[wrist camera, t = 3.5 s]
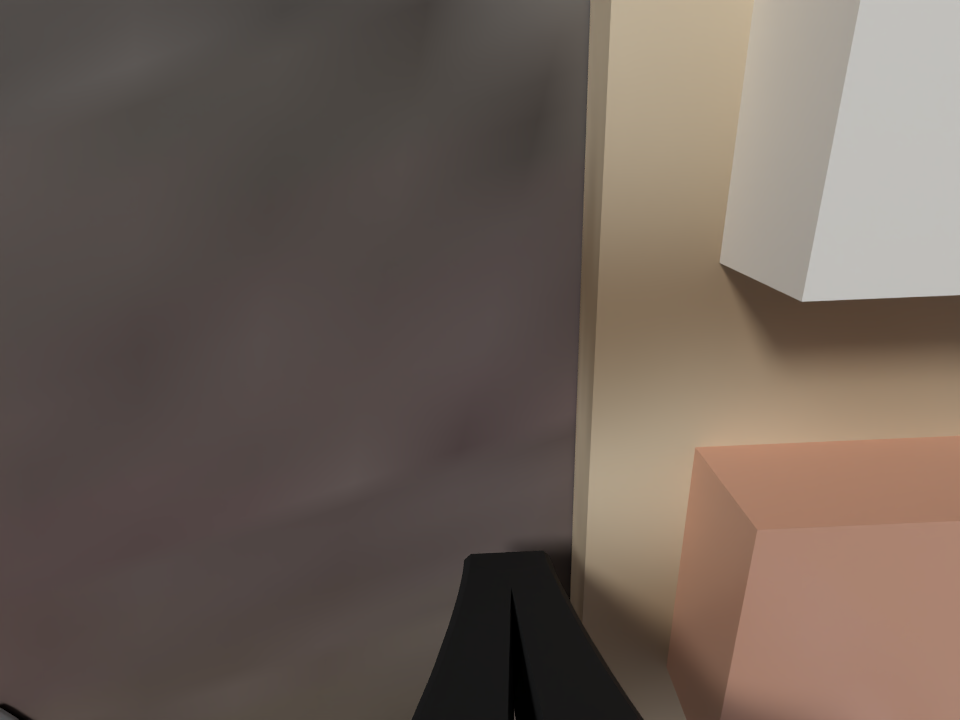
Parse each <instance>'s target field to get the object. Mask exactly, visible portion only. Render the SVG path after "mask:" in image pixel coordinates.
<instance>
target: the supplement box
mask: <svg viewBox="0 0 960 720" xmlns="http://www.w3.org/2000/svg"><path fill="white" fill-rule="evenodd" d="M0 720H19V719H17V718H16V717H14V716H13V715H11V714H10V713H8V712H7V711H5V710H3V709H2V708H0Z"/></svg>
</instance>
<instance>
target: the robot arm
mask: <svg viewBox="0 0 960 720" xmlns="http://www.w3.org/2000/svg"><path fill="white" fill-rule="evenodd" d="M514 711H515V717H516V720H644V719H643V718H642V716H641V715H640V713H639V712H638V710H637V709H636V707H635V706H634V705H633V703H632V702H631V700H630V699H629V697H628V696H627V694H626V693H625V691H624V690H623V688H622V687H621V685H620V684H619V682H618V681H617V679H616V678H615V676H614V675H613V673H612V672H611V670H610V668H609V667H608V665H607V663H606V662H605V660H604V659H603V657H602V655H601V654H600V652H599V650H598V649H597V647H596V646H595V644H594V642H593V641H592V639H591V637H590V636H589V634H588V632H587V631H586V629H585V627H584V625H583V624H582V622H581V620H580V618H579V617H578V615H577V613H576V611H575V609H574V607H573V605H572V604H571V602H570V600H569V598H568V596H567V594H566V592H565V590H564V588H563V586H562V584H561V582H560V580H559V578H558V576H557V573H556V571H555V569H554V567H553V564H552V562H551V559H550V556H549V555H547V554H546V553H545V552H544V551H528V552H506V553H485V554H470V555H469V556H468V557H467V558H466V559H465V560H464V568H463V574H462V579H461V584H460V588H459V592H458V596H457V600H456V603H455V607H454V610H453V613H452V617H451V620H450V623H449V626H448V629H447V632H446V635H445V637H444V640H443V643H442V646H441V649H440V651H439V654H438V657H437V660H436V663H435V665H434V668H433V670H432V673H431V676H430V678H429V681H428V683H427V685H426V688H425V690H424V692H423V695H422V697H421V699H420V702H419V704H418V706H417V709H416V711H415V713H414V716H413V718H412V720H514Z"/></svg>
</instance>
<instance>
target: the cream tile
mask: <svg viewBox="0 0 960 720" xmlns="http://www.w3.org/2000/svg"><path fill="white" fill-rule="evenodd" d="M720 263H721V264H723V265H725V266H727V267H729V268H732V269H734V270H736V271H738V272H740V273H742V274H744V275H746V276H748V277H751V278H753V279H755V280H757V281H759V282H761V283H763V284H765V285H767V286H770V287H772V288H774V289H776V290H778V291H780V292H782V293H784V294H786V295H789V296H791V297H793V298H795V299H797V300H799V301H801V302H807V301H831V300H854V299H878V298H902V297H926V296H949V295H960V0H754V4H753V12H752V20H751V27H750V35H749V42H748V50H747V58H746V65H745V73H744V80H743V88H742V96H741V103H740V111H739V118H738V126H737V134H736V141H735V149H734V156H733V164H732V172H731V179H730V187H729V194H728V202H727V210H726V217H725V225H724V233H723V240H722V248H721V255H720Z"/></svg>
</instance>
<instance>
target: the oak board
mask: <svg viewBox="0 0 960 720" xmlns="http://www.w3.org/2000/svg"><path fill="white" fill-rule="evenodd" d="M753 4H754V0H591V5H590V34H589V64H588V93H587V122H586V151H585V181H584V210H583V239H582V269H581V298H580V327H579V357H578V386H577V415H576V444H575V474H574V503H573V532H572V562H571V591H570V602H571V604H572V605H573V607H574V609H575V611H576V613H577V615H578V617H579V618H580V620H581V622H582V624H583V625H584V627H585V629H586V631H587V632H588V634H589V636H590V637H591V639H592V641H593V642H594V644H595V646H596V647H597V649H598V650H599V652H600V654H601V655H602V657H603V659H604V660H605V662H606V663H607V665H608V667H609V668H610V670H611V672H612V673H613V675H614V676H615V678H616V679H617V681H618V682H619V684H620V685H621V687H622V688H623V690H624V691H625V693H626V694H627V696H628V697H629V699H630V700H631V702H632V703H633V705H634V706H635V707H636V709H637V710H638V712H639V713H640V715H641V716H642V718H643V719H644V720H686V717H685V715H684V712H683V709H682V707H681V704H680V701H679V699H678V696H677V693H676V691H675V688H674V686H673V683H672V680H671V678H670V675H669V672H668V670H667V667H666V666H667V659H668V651H669V643H670V636H671V628H672V620H673V613H674V605H675V598H676V590H677V582H678V575H679V567H680V560H681V552H682V544H683V537H684V529H685V522H686V514H687V506H688V499H689V491H690V484H691V476H692V468H693V461H694V453H695V447H711V446H734V445H757V444H780V443H803V442H826V441H849V440H872V439H895V438H918V437H941V436H960V295H949V296H926V297H902V298H878V299H854V300H831V301H807V302H801V301H799V300H797V299H795V298H793V297H791V296H789V295H786V294H784V293H782V292H780V291H778V290H776V289H774V288H772V287H770V286H767V285H765V284H763V283H761V282H759V281H757V280H755V279H753V278H751V277H748V276H746V275H744V274H742V273H740V272H738V271H736V270H734V269H732V268H729V267H727V266H725V265H723V264H721V263H720V255H721V248H722V240H723V233H724V225H725V217H726V210H727V202H728V194H729V187H730V179H731V172H732V164H733V156H734V149H735V141H736V134H737V126H738V118H739V111H740V103H741V96H742V88H743V80H744V73H745V65H746V58H747V50H748V42H749V35H750V27H751V20H752V12H753Z"/></svg>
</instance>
